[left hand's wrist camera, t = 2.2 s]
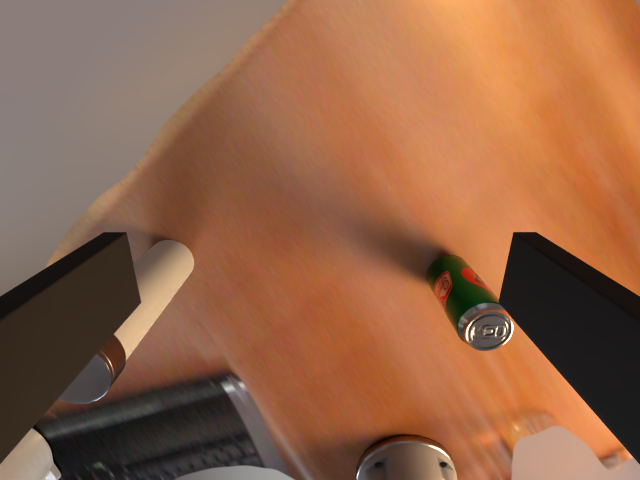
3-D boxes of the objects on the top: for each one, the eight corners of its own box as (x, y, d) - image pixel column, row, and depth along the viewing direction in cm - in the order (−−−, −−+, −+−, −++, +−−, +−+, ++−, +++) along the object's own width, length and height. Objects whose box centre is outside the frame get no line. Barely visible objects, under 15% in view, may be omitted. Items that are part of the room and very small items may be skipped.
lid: (36, 357, 28) (13, 378, 26) (67, 306, 26) (45, 324, 24) (106, 392, 29) (89, 415, 27) (139, 346, 27) (124, 367, 25)
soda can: (426, 253, 43) (464, 309, 31) (468, 252, 42) (521, 306, 31) (423, 290, 44) (458, 355, 33) (464, 289, 44) (513, 353, 33)
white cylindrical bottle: (141, 263, 43) (23, 373, 26) (163, 230, 42) (52, 324, 24) (180, 287, 44) (91, 407, 27) (202, 256, 43) (123, 363, 26)
